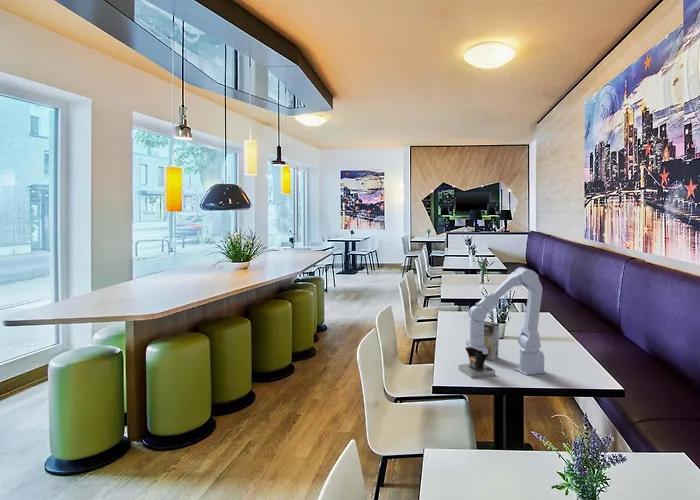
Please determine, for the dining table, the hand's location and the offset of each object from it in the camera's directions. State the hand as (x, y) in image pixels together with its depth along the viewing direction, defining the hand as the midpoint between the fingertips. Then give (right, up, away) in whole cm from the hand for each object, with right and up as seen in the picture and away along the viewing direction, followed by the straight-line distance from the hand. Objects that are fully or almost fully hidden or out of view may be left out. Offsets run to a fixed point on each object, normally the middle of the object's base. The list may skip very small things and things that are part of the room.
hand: (476, 366), depth 203 cm
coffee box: (+10, -1, +21) cm, 24 cm away
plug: (0, -2, 0) cm, 2 cm away
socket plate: (0, -3, 0) cm, 3 cm away
